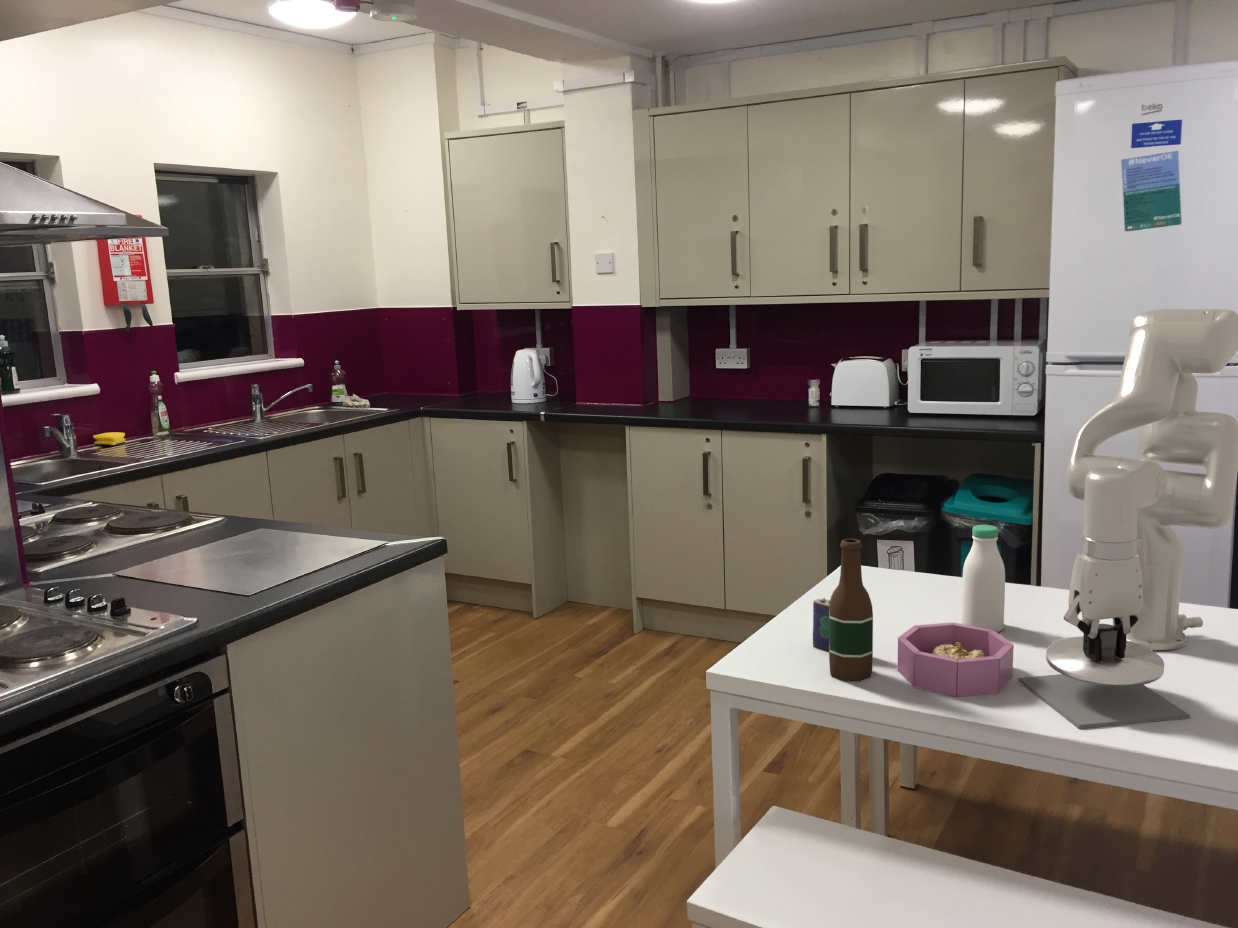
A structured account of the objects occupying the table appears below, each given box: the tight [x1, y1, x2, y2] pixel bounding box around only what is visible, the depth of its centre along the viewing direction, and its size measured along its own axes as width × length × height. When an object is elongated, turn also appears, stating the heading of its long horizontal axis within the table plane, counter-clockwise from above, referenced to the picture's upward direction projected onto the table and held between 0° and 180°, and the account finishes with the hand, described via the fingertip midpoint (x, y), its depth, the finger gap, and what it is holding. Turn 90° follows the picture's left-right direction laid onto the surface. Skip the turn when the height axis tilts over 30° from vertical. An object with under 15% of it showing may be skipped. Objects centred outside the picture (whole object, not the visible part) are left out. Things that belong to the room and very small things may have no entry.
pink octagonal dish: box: [897, 622, 1015, 698], centre depth 173 cm, size 17×17×6 cm
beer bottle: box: [828, 538, 874, 683], centre depth 173 cm, size 8×8×24 cm
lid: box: [1045, 623, 1165, 687], centre depth 161 cm, size 17×17×6 cm
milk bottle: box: [960, 524, 1006, 633], centre depth 193 cm, size 8×8×20 cm
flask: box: [812, 594, 832, 653], centre depth 185 cm, size 9×3×11 cm, turn 50°
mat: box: [1017, 673, 1191, 730], centre depth 162 cm, size 18×18×1 cm
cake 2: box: [932, 642, 986, 659], centre depth 175 cm, size 10×10×5 cm
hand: (1104, 655), depth 161 cm, fingers closed on lid, 3 cm apart
